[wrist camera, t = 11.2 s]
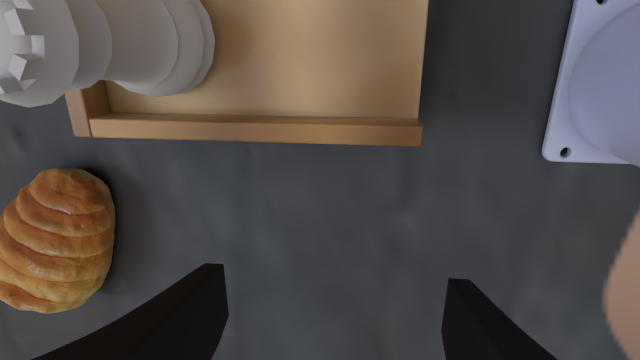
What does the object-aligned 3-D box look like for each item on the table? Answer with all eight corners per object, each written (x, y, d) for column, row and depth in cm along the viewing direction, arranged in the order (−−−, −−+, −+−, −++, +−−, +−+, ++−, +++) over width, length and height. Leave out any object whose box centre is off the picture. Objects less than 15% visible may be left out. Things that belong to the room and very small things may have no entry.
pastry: (41, 139, 22) (-20, 157, 19) (145, 192, 23) (104, 220, 19) (13, 254, 25) (-44, 289, 22) (104, 298, 26) (63, 339, 22)
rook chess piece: (122, 92, 16) (-93, 135, 8) (104, -26, 14) (-180, -102, 7) (223, 97, 15) (92, 147, 8) (216, -24, 14) (45, -102, 6)
